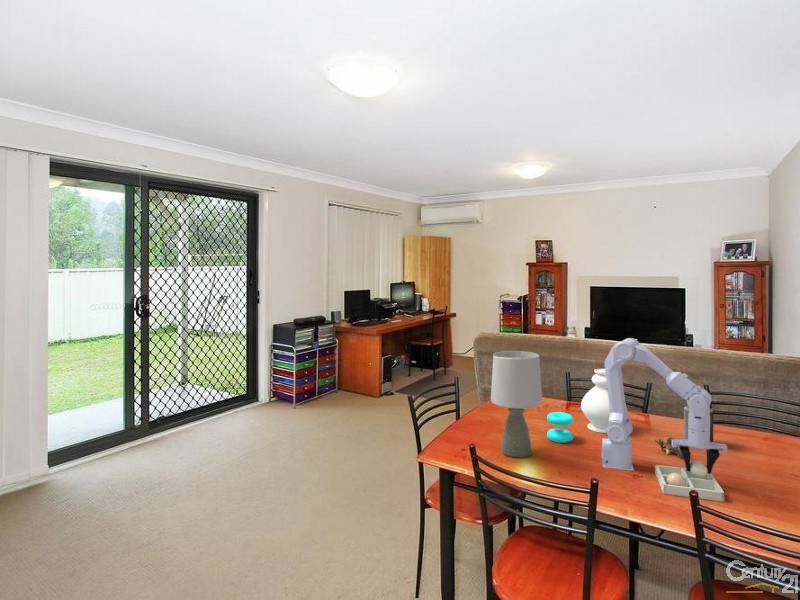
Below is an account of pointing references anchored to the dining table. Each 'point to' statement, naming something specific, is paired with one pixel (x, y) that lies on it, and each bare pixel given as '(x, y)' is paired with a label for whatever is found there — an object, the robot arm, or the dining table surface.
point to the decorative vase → (597, 403)
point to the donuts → (558, 433)
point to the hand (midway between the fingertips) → (698, 471)
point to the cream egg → (698, 468)
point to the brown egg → (676, 480)
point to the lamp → (516, 396)
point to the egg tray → (689, 484)
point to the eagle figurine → (669, 447)
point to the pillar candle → (686, 412)
